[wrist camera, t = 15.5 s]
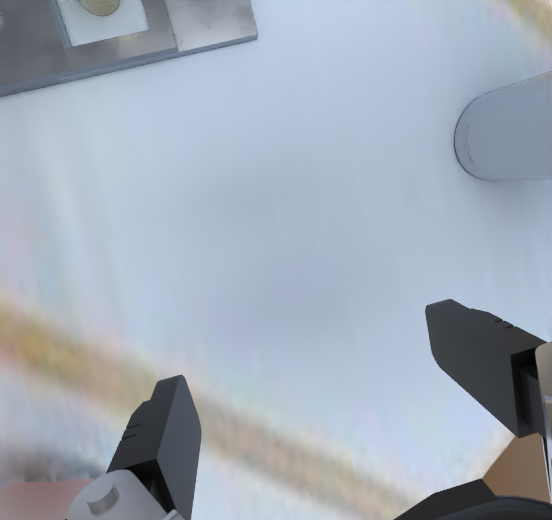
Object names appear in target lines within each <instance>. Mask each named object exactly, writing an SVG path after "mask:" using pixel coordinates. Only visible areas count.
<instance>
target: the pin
mask: <svg viewBox="0 0 552 520" xmlns="http://www.w3.org/2000/svg"><path fill="white" fill-rule="evenodd" d="M79 1H80V2H81V3H82V5H83V6H84V7H85V8H86V9H87V10H88V11H89V12H91V13H93V14H95V15H98V16H107V15H110V14H112V13H113V12H114V11H115V10H116V9H117V7H118V6H119V3H120V0H79Z"/></svg>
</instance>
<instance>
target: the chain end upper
mask: <svg viewBox="0 0 552 520" xmlns="http://www.w3.org/2000/svg"><path fill="white" fill-rule="evenodd" d="M142 2H143V5H144V9H145V12H146V15H147V19H148V22H149V26H150V29H151V30H147V31H143V32H138V33H133V34H129V35H124V36H120V37H115V38H111V39H106V40H102V41H97V42H92V43H88V44H83V45H79V46H74V47H70V48H68V46H67V43H66V40H65V37H64V34H63V31H62V28H61V26H60V23H59V20H58V17H57V14H56V11H55V8H54V5H53V2H52V0H0V97H2V96H7V95H11V94H16V93H20V92H25V91H29V90H33V89H38V88H42V87H47V86H51V85H56V84H60V83H64V82H62V81H60V80H59V79H60V78H64V77H69V76H73V75H78V74H82V73H87V72H91V71H96V70H100V69H105V68H109V67H113V66H118V65H122V64H127V63H131V62H136V61H140V60H145V59H149V58H154V57H158V56H162V55H167V54H171V53H176V52H178V49H177V45H176V41H175V38H174V34H173V31H172V27H171V23H170V20H169V16H168V13H167V9H166V5H165V2H164V0H142Z"/></svg>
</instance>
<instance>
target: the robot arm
mask: <svg viewBox="0 0 552 520" xmlns="http://www.w3.org/2000/svg"><path fill="white" fill-rule="evenodd" d="M455 149H456V153H457V157H458V159H459V161H460V163H461V165H462V166H463V167H464V169H465V170H466V171H467V172H469V173H470V174H471V175H473V176H475V177H477V178H479V179H484V180H539V179H552V71H550V72H547V73H544V74H541V75H538V76H535V77H532V78H530V79H527V80H524V81H521V82H518V83H515V84H512V85H509V86H506V87H504V88H501V89H498V90H495V91H492V92H489V93H487V94H484V95H482V96H480V97H478V98H477V99H476V100H474V101H473V102H472V103H471V104H470V105H469V106H468V107H467V108H466V109H465V111H464V112H463V114H462V116H461V118H460V119H459V122H458V125H457V128H456V133H455ZM425 313H426V320H427V326H428V332H429V339H430V345H431V351H432V354H433V356H434V359H435V361H436V362H437V364H438V365H439V367H440V368H441V369H442V370H443V371H444V372H446V373H447V374H448V375H449V376H450V377H451V378H452V379H453V380H454V381H456V382H457V383H458V384H459V385H460V386H461V387H462V388H463V389H464V390H466V391H467V392H468V393H469V394H470V395H471V396H472V397H473V398H474V399H476V400H477V401H478V402H479V403H480V404H481V405H482V406H483V407H484V408H486V409H487V410H488V411H489V412H490V413H491V414H492V415H493V416H494V417H496V418H497V419H498V420H499V421H500V422H501V423H502V424H503V425H504V426H506V427H507V428H508V429H509V430H510V431H511V432H512V433H513V434H514V435H516V436H517V437H518V438H521V437H525V436H527V435H531V434H534V433H537V432H538V433H539V434H540V435H541V436H542V441H543V451H544V458H545V465H546V472H547V480H548V485H549V486H548V487H549V493H550V501H551V504H550V503H547V502H544V501H539V500H536V499H531V498H526V497H518V496H505V495H499V496H495V495H494V493H493V492H492V491H491V490H490V489H489V487H488V486H487V485H486V484H485V483H484V481H483V480H482V479H478V480H475V481H472V482H468V483H465V484H462V485H459V486H456V487H453V488H449V489H446V490H443V491H440V492H437V493H434V494H432V495H431V496H429V497H427V498H426V499H424V500H423V501H421V502H420V503H418V504H417V505H415V506H414V507H412V508H411V509H409V510H408V511H406V512H405V513H403V514H402V515H400V516H398V517H397V518H395V519H394V520H552V342H546V341H544V340H542V339H540V338H538V337H536V336H534V335H532V334H530V333H528V332H526V331H524V330H522V329H520V328H518V327H516V326H515V327H514V326H513V325H512V324H510V323H509V322H507V321H503V320H502V319H501V318H499V317H497V316H495V315H493V314H491V313H489V312H485V311H480V310H476V309H469V308H467V307H465V306H463V305H461V304H460V303H458V302H456V301H454V300H452V299H448V300H444V301H440V302H437V303H433V304H430V305H427V306H426V310H425ZM126 428H127V430H125V431H124V434H123V436H122V441H120V443H119V445H118V447H117V450H116V452H115V454H114V456H113V459H112V461H111V463H110V466H109V468H108V470H107V472H106V474H105V475H103V476H101V477H99V478H97V479H96V480H94V481H93V482H92V483H90V484H89V485H88V486H86V487H85V488H84V489H83V490H82V491H81V492H80V493H79V494H78V495H77V497H76V498H75V499H74V501H73V502H72V504H71V506H70V508H69V510H68V514H67V519H65V520H191V514H192V506H193V498H194V491H195V483H196V475H197V467H198V459H199V452H200V444H201V426H200V421H199V417H198V414H197V411H196V408H195V405H194V402H193V399H192V396H191V394H190V391H189V388H188V385H187V382H186V380H185V378H184V376H183V375H178V376H174V377H171V378H167V379H164V380H160V381H158V382H157V384H156V386H155V389H154V392H153V394H152V397H151V399H150V400H149V401H145V402H143V403H142V404H141V405H140V406H139V407H138V408H137V410H136V411H135V412H134V413H133V414H132V416H131V418H130V420H129V422H128V425H127V427H126Z"/></svg>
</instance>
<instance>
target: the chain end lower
mask: <svg viewBox="0 0 552 520" xmlns="http://www.w3.org/2000/svg"><path fill="white" fill-rule="evenodd" d="M52 2H53V5H54V8H55V11H56V14H57V17H58V20H59V23H60V26H61V28H62V31H63V34H64V37H65V40H66V43H67V46H68V48H70V47H72V46H71V43H70V40H69V37H68V34H67V31H66V28H65V25H64V22H63V19H62V16H61V13H60V10H59V7H58V4H57V1H56V0H52ZM164 2H165V5H166V9H167V13H168V16H169V20H170V23H171V27H172V31H173V34H174V38H175V41H176V45H177V49H178V52H176V53H171V54H167V55H162V56H158V57H154V58H149V59H145V60H140V61H136V62H131V63H127V64H122V65H118V66H113V67H109V68H105V69H100V70H96V71H91V72H87V73H82V74H78V75H73V76H69V77H64V78H60V79H59V80H60V81H62V82H69V81H73V80H78V79H82V78H87V77H91V76H96V75H100V74H104V73H109V72H113V71H118V70H122V69H127V68H131V67H136V66H140V65H144V64H149V63H153V62H158V61H162V60H167V59H171V58H175V57H180V56H184V55H189V54H193V53H198V52H202V51H207V50H211V49H215V48H220V47H224V46H229V45H233V44H238V43H242V42H247V41H251V40H255V39H257V35H258V33H257V29H256V24H255V20H254V16H253V11H252V7H251V2H250V0H164Z"/></svg>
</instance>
